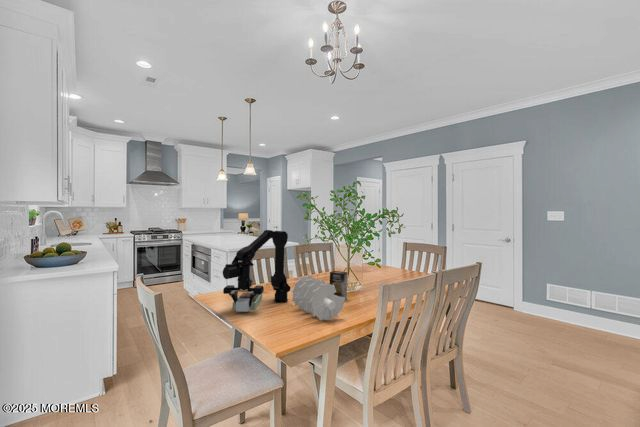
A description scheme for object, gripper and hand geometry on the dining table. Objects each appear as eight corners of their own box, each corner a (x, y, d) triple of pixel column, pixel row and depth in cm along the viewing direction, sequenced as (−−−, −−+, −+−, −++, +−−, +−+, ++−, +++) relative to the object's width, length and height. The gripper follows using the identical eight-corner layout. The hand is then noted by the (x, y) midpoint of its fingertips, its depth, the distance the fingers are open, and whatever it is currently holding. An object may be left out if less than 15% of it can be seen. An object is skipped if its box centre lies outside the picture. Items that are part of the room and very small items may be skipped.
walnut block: (255, 303, 163) (255, 292, 162) (252, 308, 156) (252, 296, 155) (242, 303, 163) (243, 292, 162) (239, 307, 156) (239, 296, 155)
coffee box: (328, 300, 173) (329, 272, 173) (332, 297, 179) (333, 270, 179) (343, 302, 170) (344, 273, 170) (347, 299, 176) (347, 271, 176)
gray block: (250, 307, 152) (251, 298, 152) (247, 311, 146) (248, 302, 146) (239, 307, 152) (239, 298, 152) (235, 311, 146) (235, 302, 146)
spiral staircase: (323, 332, 138) (295, 313, 158) (350, 310, 146) (321, 294, 167) (310, 300, 132) (283, 284, 153) (339, 278, 141) (310, 266, 161)
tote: (262, 300, 171) (262, 293, 170) (255, 310, 154) (255, 302, 153) (241, 300, 171) (241, 292, 171) (232, 310, 154) (232, 302, 154)
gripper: (265, 272, 157) (265, 302, 157) (230, 271, 157) (229, 301, 157) (261, 277, 145) (261, 309, 146) (223, 276, 146) (222, 308, 146)
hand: (243, 307), depth 149 cm, fingers closed on gray block, 6 cm apart
